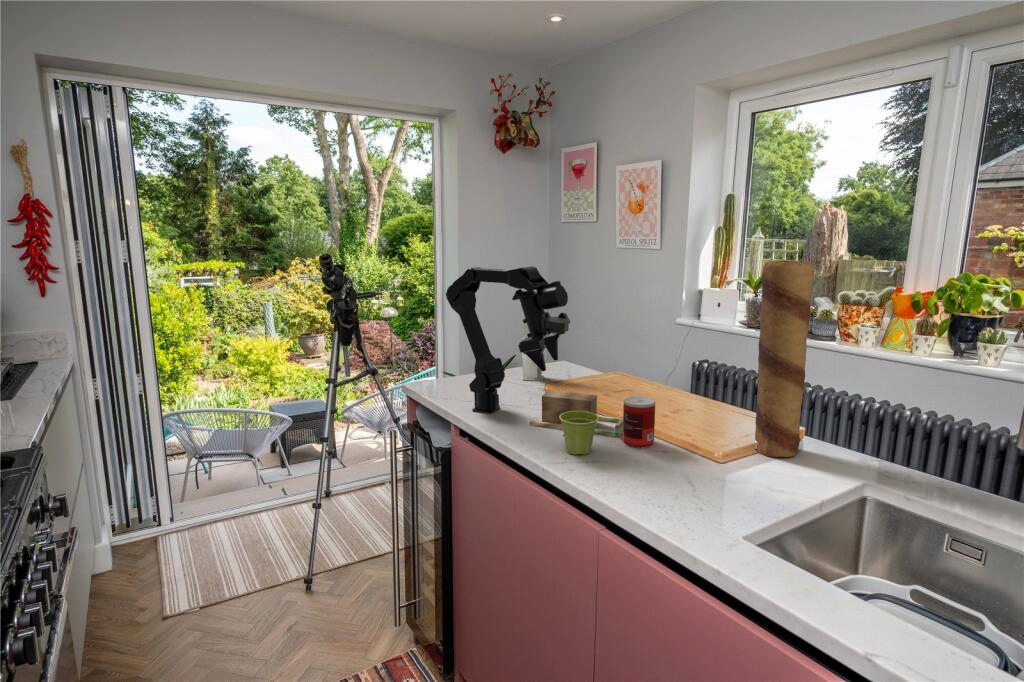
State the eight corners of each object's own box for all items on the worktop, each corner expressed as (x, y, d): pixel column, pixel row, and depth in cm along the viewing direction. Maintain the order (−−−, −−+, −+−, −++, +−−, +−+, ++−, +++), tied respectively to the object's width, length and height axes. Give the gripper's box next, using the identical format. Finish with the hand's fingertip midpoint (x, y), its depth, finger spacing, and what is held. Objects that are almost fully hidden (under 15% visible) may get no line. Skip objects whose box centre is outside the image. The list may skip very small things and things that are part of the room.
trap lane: (522, 430, 153) (521, 419, 153) (551, 407, 173) (551, 398, 172) (613, 443, 143) (613, 432, 142) (633, 417, 163) (634, 407, 162)
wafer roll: (756, 439, 144) (768, 259, 136) (802, 448, 138) (818, 260, 130) (745, 452, 136) (757, 261, 127) (794, 462, 130) (810, 262, 121)
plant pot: (606, 450, 139) (606, 415, 137) (583, 461, 132) (583, 425, 130) (574, 441, 145) (575, 408, 144) (551, 451, 138) (551, 417, 137)
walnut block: (541, 423, 159) (541, 395, 158) (549, 417, 165) (548, 390, 163) (591, 429, 154) (591, 400, 152) (596, 422, 159) (596, 395, 158)
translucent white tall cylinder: (518, 380, 205) (517, 303, 200) (521, 375, 213) (520, 300, 208) (541, 381, 204) (541, 303, 199) (544, 375, 212) (543, 300, 207)
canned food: (651, 437, 147) (652, 396, 145) (656, 448, 139) (657, 405, 137) (621, 436, 148) (622, 395, 146) (624, 448, 140) (625, 404, 138)
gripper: (547, 314, 144) (565, 372, 147) (572, 298, 160) (587, 350, 163) (510, 323, 150) (527, 378, 152) (537, 306, 166) (552, 356, 168)
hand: (550, 365), depth 159 cm, fingers open, 9 cm apart
